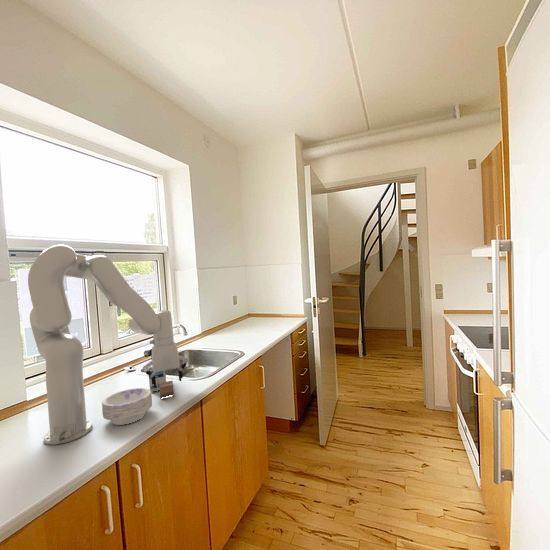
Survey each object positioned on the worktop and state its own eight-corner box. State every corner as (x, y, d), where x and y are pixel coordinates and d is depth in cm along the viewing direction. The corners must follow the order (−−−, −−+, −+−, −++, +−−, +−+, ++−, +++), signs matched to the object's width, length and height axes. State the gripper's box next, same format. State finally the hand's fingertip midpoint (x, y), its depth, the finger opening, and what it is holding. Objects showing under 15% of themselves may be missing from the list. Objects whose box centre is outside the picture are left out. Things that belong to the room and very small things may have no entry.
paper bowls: (147, 404, 110) (146, 383, 110) (157, 419, 98) (155, 396, 98) (101, 417, 102) (100, 395, 101) (105, 436, 89) (103, 410, 89)
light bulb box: (166, 390, 123) (165, 364, 123) (149, 393, 120) (147, 367, 120) (166, 381, 133) (164, 358, 133) (150, 384, 130) (148, 360, 130)
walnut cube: (174, 396, 115) (173, 384, 115) (160, 399, 114) (159, 387, 113) (173, 392, 120) (172, 380, 120) (160, 395, 118) (159, 383, 118)
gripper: (140, 347, 110) (144, 391, 110) (187, 339, 117) (190, 381, 117) (140, 343, 117) (144, 384, 117) (185, 335, 124) (188, 375, 124)
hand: (167, 382), depth 117 cm, fingers open, 9 cm apart
